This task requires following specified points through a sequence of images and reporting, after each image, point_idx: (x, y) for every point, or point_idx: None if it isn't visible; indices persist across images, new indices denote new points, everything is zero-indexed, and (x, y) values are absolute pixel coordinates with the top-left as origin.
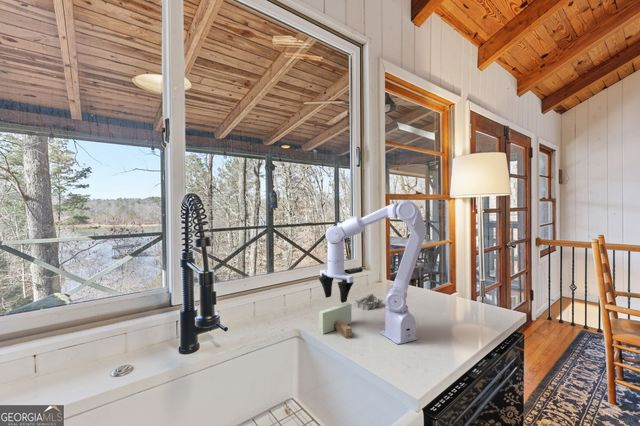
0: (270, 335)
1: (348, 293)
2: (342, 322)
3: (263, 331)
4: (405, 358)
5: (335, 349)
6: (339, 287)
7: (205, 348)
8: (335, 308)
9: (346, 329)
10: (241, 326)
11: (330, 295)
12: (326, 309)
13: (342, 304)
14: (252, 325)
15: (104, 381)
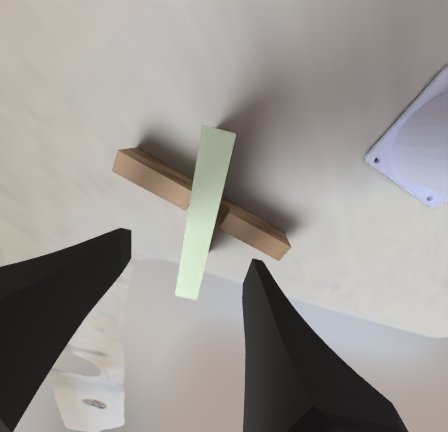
0: (123, 304)
1: (286, 298)
2: (244, 225)
3: None
4: (444, 260)
5: None
6: (249, 415)
7: (98, 362)
8: (204, 242)
9: (279, 259)
10: None
11: (127, 237)
12: (182, 268)
13: (198, 175)
14: None
15: (106, 412)
